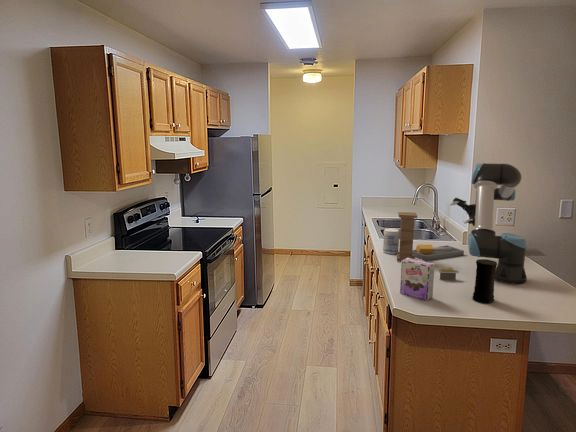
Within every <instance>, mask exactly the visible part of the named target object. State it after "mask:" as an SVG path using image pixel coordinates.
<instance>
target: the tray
mask: <svg viewBox="0 0 576 432" xmlns="http://www.w3.org/2000/svg"><path fill="white" fill-rule="evenodd" d="M438 247H452V251H433V253H432V254H420V253H417V251H416V250H415V249H413V251H412V255H414V258H416V257H417V258H416V259H418V260H421V259H422V260H421V261H424V262H428V261H437V260H440V259H441V260H442V259H448V258H455V257H461V256H464V255H465V250H463V249H459V248H458V247H454V246H451V245H448V244H447V245H440V246H438Z"/></svg>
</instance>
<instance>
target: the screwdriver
mask: <svg viewBox="0 0 576 432" xmlns="http://www.w3.org/2000/svg"><path fill="white" fill-rule="evenodd" d="M452 247H453V246H451V247H439V246H433V245H432V244H417V245H416V248H415V249H414V250H416V251H417V253H420V254H432V253H433V251H452Z"/></svg>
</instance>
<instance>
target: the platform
mask: <svg viewBox="0 0 576 432" xmlns="http://www.w3.org/2000/svg"><path fill="white" fill-rule="evenodd" d="M437 272H438V273H439V280H440V279H441V280H442V281H445V280H446V281H447V280H448V281H455V280H457V279H456V277H457V274H459V273H460V272H459V270H456V269H454V268H453V267H448V266H447V267H443V266H442V267H441V268H440V269H438V270H437ZM441 280H440V281H441Z"/></svg>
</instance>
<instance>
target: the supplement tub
mask: <svg viewBox="0 0 576 432" xmlns="http://www.w3.org/2000/svg"><path fill="white" fill-rule="evenodd" d="M382 245H383V247H382V248H383V249H382V251H383V253H384V254H387V253H388V254H387V255H396V253H397V254H399V248H400V229H397V228H385V229H384V231H383V243H382Z"/></svg>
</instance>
